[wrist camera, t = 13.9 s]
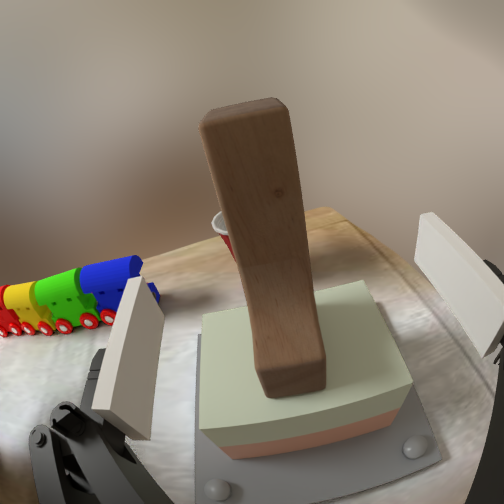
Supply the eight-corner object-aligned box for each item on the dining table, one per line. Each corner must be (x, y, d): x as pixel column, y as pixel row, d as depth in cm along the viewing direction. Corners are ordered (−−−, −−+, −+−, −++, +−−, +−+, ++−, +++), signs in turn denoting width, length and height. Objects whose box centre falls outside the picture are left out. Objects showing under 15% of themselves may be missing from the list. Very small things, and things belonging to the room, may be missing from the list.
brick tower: (200, 513, 20) (146, 500, 14) (200, 339, 40) (172, 282, 33) (438, 461, 19) (485, 425, 13) (370, 303, 38) (375, 238, 32)
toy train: (-2, 342, 46) (-31, 306, 39) (9, 320, 52) (-17, 285, 46) (159, 322, 44) (128, 266, 38) (165, 291, 50) (139, 238, 44)
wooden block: (327, 391, 19) (308, 119, 9) (265, 401, 20) (175, 146, 9) (308, 304, 27) (277, 95, 16) (260, 313, 27) (205, 110, 17)
